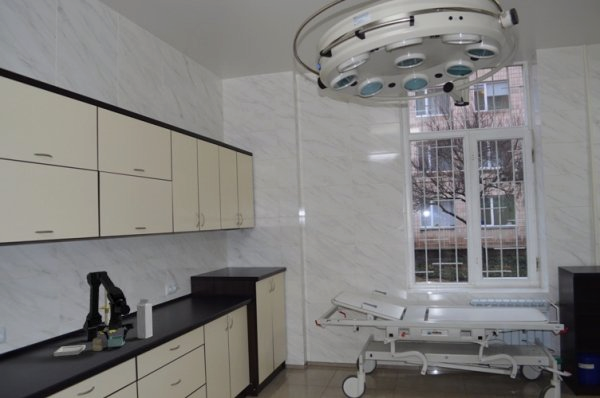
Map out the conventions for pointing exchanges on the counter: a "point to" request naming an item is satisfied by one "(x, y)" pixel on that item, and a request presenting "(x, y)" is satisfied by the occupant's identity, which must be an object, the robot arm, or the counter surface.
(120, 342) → the light blue box
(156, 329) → the counter surface
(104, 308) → the candle
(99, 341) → the beige jar
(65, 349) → the dish
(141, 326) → the milk
